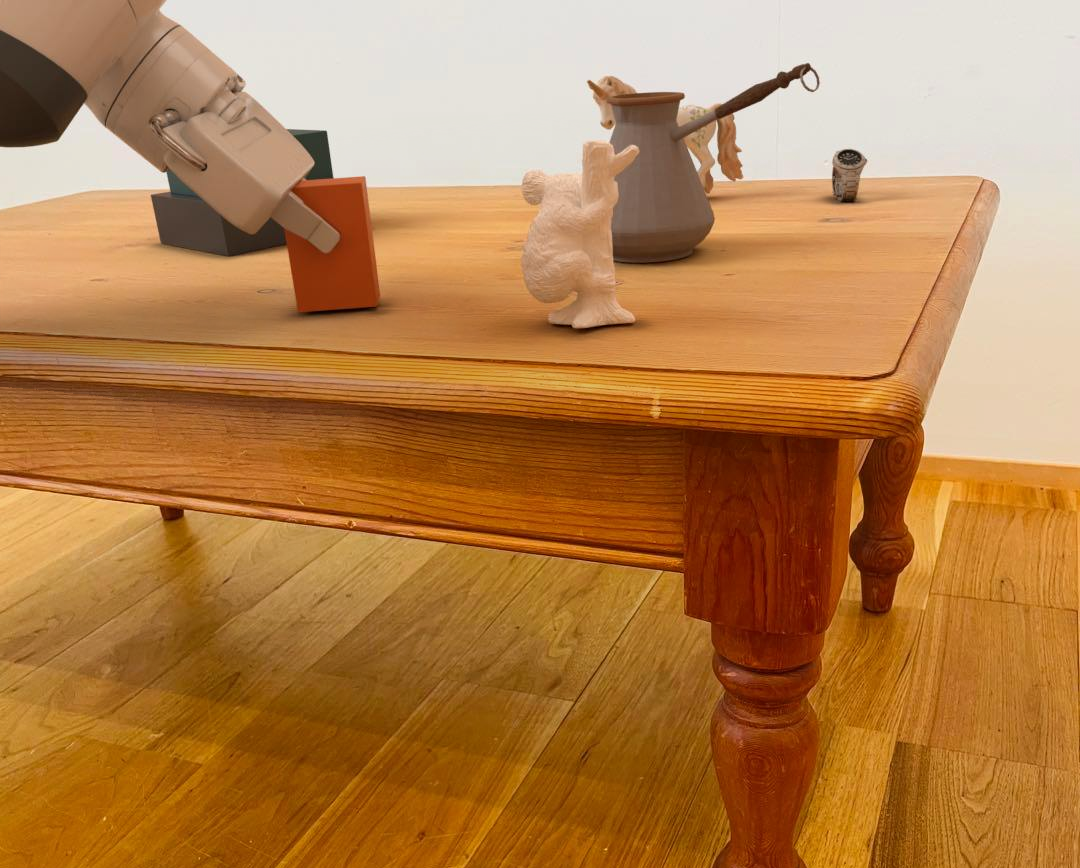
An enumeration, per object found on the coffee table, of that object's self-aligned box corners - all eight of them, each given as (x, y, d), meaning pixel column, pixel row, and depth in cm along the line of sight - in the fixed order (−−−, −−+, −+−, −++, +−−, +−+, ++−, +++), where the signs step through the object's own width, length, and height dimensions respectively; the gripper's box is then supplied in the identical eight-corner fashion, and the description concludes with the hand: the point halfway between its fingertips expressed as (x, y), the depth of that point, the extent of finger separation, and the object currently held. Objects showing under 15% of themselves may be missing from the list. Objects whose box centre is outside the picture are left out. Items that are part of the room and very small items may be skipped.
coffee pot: (555, 260, 94) (545, 73, 87) (637, 236, 101) (634, 62, 95) (765, 287, 80) (772, 69, 74) (843, 258, 88) (855, 57, 81)
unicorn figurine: (560, 212, 116) (553, 78, 110) (710, 190, 124) (711, 63, 118) (593, 220, 110) (587, 79, 105) (748, 197, 118) (751, 64, 112)
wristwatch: (834, 204, 110) (837, 153, 108) (822, 195, 116) (824, 146, 114) (868, 202, 110) (872, 151, 108) (855, 193, 116) (858, 144, 114)
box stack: (228, 256, 105) (208, 148, 101) (160, 243, 114) (139, 144, 110) (360, 228, 115) (347, 129, 111) (288, 218, 124) (273, 126, 120)
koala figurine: (663, 318, 74) (660, 133, 69) (610, 343, 69) (603, 146, 64) (562, 306, 79) (553, 132, 74) (506, 329, 74) (492, 145, 69)
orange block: (297, 312, 81) (277, 188, 77) (303, 301, 84) (284, 181, 80) (377, 306, 81) (361, 182, 77) (380, 295, 84) (365, 176, 80)
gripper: (170, 78, 66) (352, 230, 70) (233, 65, 84) (374, 186, 89) (113, 160, 67) (295, 303, 72) (187, 130, 86) (328, 245, 90)
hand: (339, 238), depth 81 cm, fingers closed on orange block, 3 cm apart
